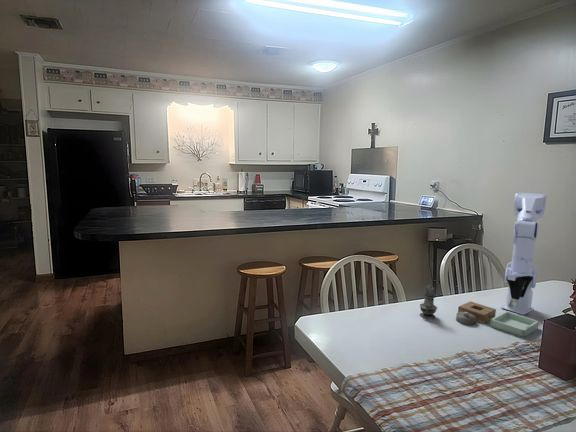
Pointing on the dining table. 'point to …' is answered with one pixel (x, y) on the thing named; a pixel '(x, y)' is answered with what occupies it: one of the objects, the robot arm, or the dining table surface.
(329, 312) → the dining table surface
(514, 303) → the lock pin
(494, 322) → the tray
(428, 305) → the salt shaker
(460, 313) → the block
